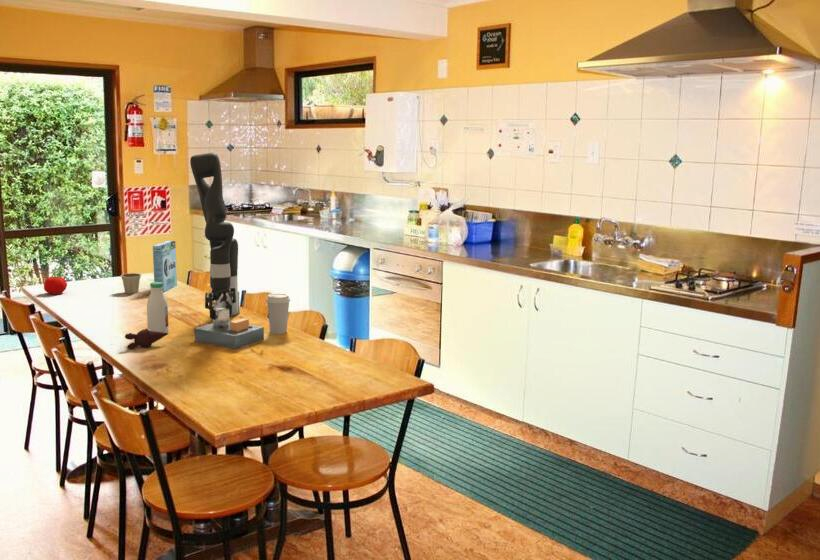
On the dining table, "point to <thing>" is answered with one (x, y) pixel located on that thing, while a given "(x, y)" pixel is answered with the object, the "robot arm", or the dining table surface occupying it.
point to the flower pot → (131, 282)
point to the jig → (228, 336)
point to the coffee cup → (278, 312)
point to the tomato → (55, 285)
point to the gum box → (165, 264)
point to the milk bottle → (157, 309)
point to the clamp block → (239, 324)
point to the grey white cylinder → (221, 318)
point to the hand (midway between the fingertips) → (221, 317)
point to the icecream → (144, 338)
